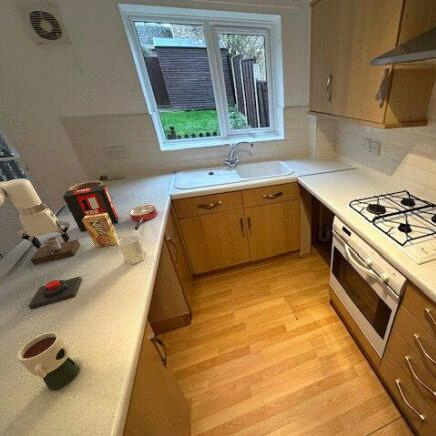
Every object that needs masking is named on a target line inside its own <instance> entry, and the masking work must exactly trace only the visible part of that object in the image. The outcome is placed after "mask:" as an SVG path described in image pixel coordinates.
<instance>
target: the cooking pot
mask: <svg viewBox="0 0 436 436" xmlns="http://www.w3.org/2000/svg"><path fill="white" fill-rule="evenodd" d="M103 183H104V182H103V181H102V180H90V181H84V182H79V183H76V184H74V185H71V186H69V188H68V191H71V190H77V189H83V188H89V187H95V186H101V185H104V184H103ZM106 189H107V187H106ZM107 192H108V193H109V191H108V189H107Z"/></svg>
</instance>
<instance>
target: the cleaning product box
mask: <svg viewBox="0 0 436 436" xmlns="http://www.w3.org/2000/svg"><path fill="white" fill-rule="evenodd" d="M106 188H107V187H106V185H105V184H103V185H101V186H95V187H89V188H83V189H77V190H66V191H65V192H64V194H63V196H62V198H63V200H64V202H65V204H66V205H67V208H68V210H69V212H70V214H71V215H72V217H73V219H74V221H75V224H76V226H77V228H78V229H79V231H80V233H82V232H83V233H84V232H88V231H87V229H86V227H85V225H84V223H83V221H82V219H83V218H84V217H85V216H89V215H96V214H103V213H108V215H109V218H110V220H111V222H112V225H113V226H114V225H117V224H119V216H118V214H117V211H116V208H115V207H114V204H113V201H112V199H111V196H110V194H109V191H108V189H106ZM107 191H108V192H107Z"/></svg>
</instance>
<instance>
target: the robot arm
mask: <svg viewBox="0 0 436 436" xmlns="http://www.w3.org/2000/svg"><path fill="white" fill-rule="evenodd" d="M7 200H10V201H11V202H12V204H13V206H14V207H15V208H16V210H17V212H18V213H19V220H20V223H21V226H22V227H23V228H21V229H20V230H19V231H17V232H16V233H15V235H16V236H17V237H20V238H21V239H23V240H27V241H28V242H30V243H31V244H32V246H33V247H35V248H36V250H38V248H40V247H42V243H41V241H40V240H39V238H38V236H39V237H40V236H43V235H50V234H53V233H54V234H55V233H58V234H60V237H61V238H62V241H63V242H68V241H70V236H69V234H68V233H67V231H69V229H70V222H69V221H65V220H59V219H58V217H57V216H56V215H55V214H54V212H53V211H52V210H51V209H50V208H49V207H50V206H49V204H48V203H44V202H43V201H42V200H41V197H40V196H39V194H38V192H37V191H36V190H35V188H34V186H33V184H32V183H31V181H30V180H29V179H27V178H15V179H11V180H6V181H0V207H1V206H3V204H4V203H5V201H7ZM62 226H64V227H62Z"/></svg>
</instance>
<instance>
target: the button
mask: <svg viewBox="0 0 436 436" xmlns="http://www.w3.org/2000/svg"><path fill="white" fill-rule="evenodd" d="M58 280H59V279H54V280H51V281H48V282H47V283H46V284H45V285H44V286H45V287H46V288H47V290H48V291H51V290H54V289H56V288H58V287H59V286H61V284H60V282H59V281H58Z"/></svg>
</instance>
